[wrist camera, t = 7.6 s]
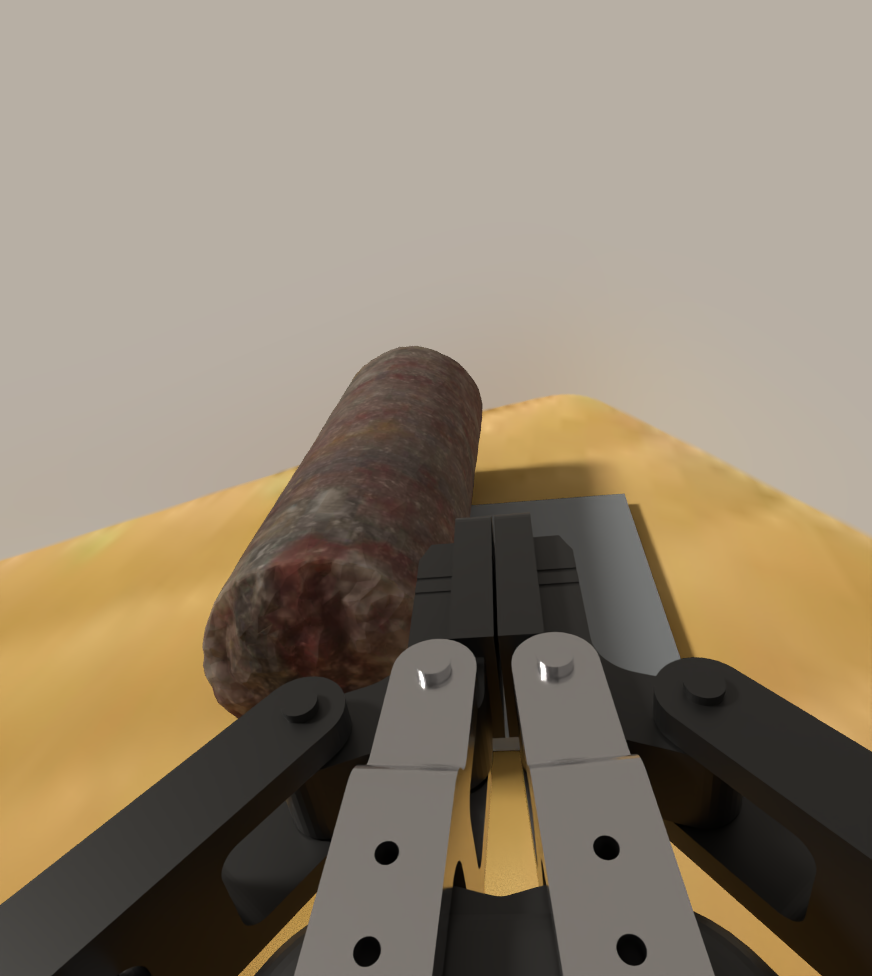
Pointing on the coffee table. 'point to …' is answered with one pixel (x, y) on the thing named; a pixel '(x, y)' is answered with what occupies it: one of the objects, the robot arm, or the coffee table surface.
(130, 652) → the coffee table surface
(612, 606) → the mat
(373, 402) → the reddish brown cylinder
